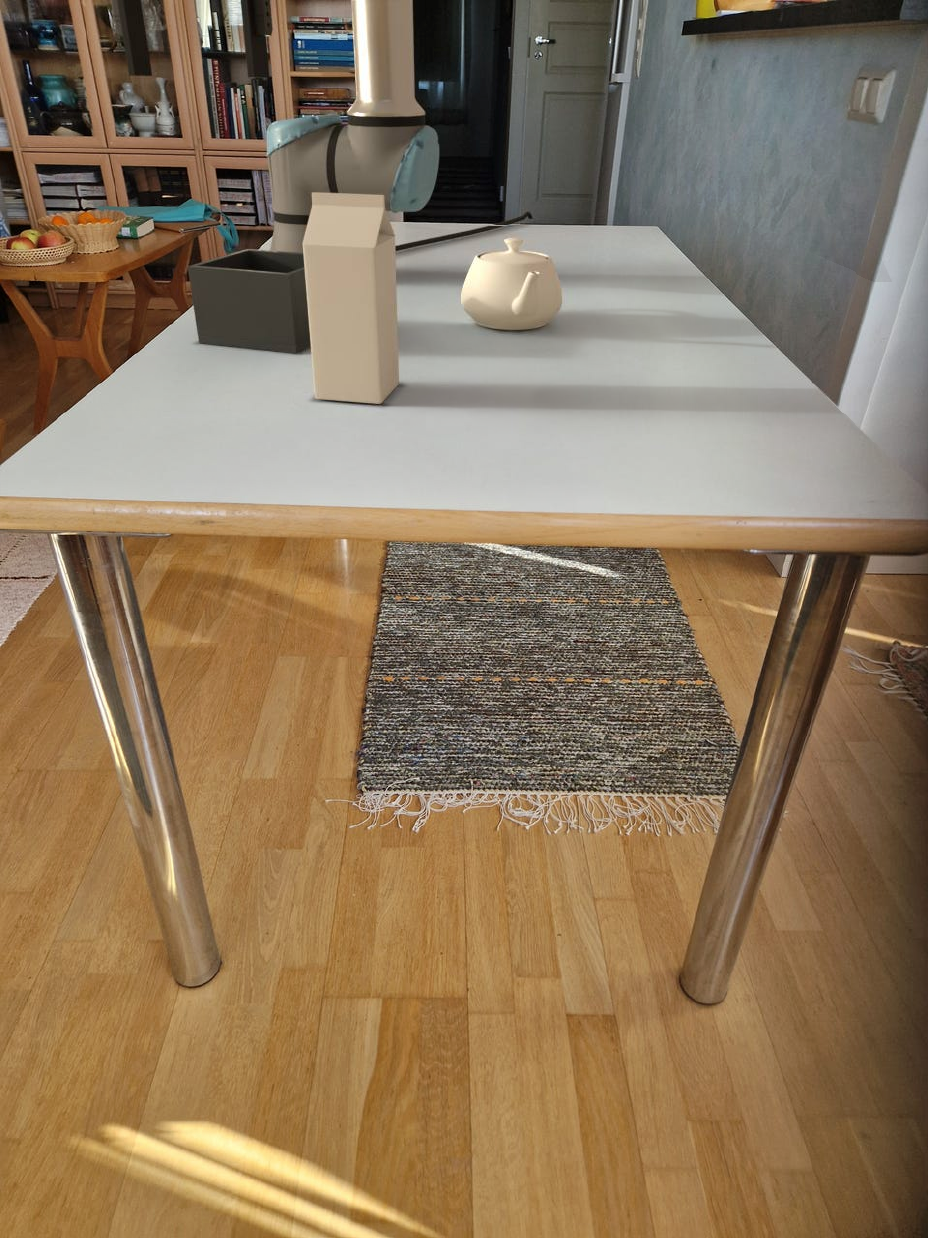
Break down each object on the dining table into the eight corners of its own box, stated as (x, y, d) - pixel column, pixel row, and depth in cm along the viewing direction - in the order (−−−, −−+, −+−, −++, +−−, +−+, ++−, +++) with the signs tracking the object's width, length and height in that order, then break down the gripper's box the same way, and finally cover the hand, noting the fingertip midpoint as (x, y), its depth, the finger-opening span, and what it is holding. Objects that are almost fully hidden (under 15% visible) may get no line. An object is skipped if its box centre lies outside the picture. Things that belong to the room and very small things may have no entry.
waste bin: (254, 319, 118) (246, 248, 113) (345, 327, 115) (340, 255, 110) (198, 343, 107) (187, 266, 102) (296, 353, 104) (289, 274, 99)
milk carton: (381, 405, 88) (373, 199, 77) (314, 400, 89) (298, 196, 79) (399, 385, 93) (394, 190, 83) (337, 380, 95) (324, 188, 85)
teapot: (447, 307, 125) (447, 227, 120) (538, 304, 128) (542, 225, 122) (480, 347, 107) (482, 254, 101) (585, 342, 110) (593, 251, 104)
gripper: (12, -218, 74) (68, 74, 85) (267, -243, 67) (292, 77, 79) (73, -194, 80) (118, 75, 91) (312, -216, 73) (329, 78, 85)
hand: (198, 76), depth 85 cm, fingers open, 13 cm apart
